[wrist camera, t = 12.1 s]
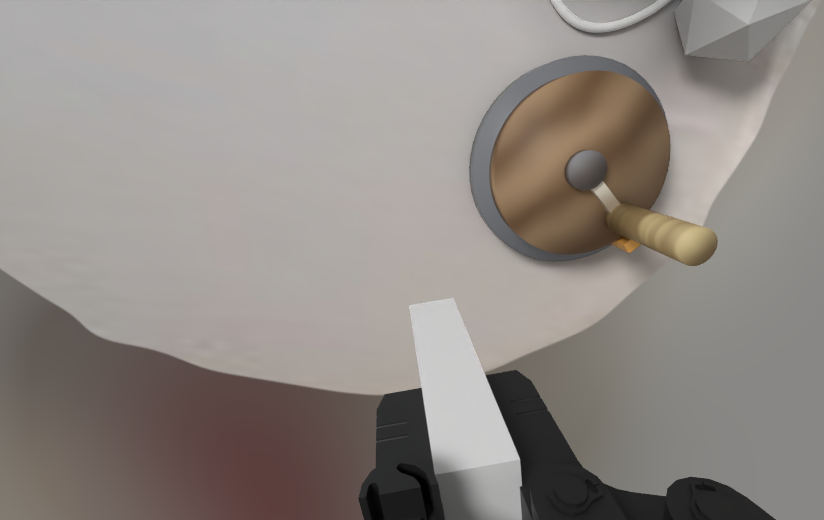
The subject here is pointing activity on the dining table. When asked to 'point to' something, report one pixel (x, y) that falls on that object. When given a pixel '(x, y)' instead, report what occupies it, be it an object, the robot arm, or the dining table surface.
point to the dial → (590, 169)
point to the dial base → (492, 127)
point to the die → (732, 26)
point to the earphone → (608, 26)
